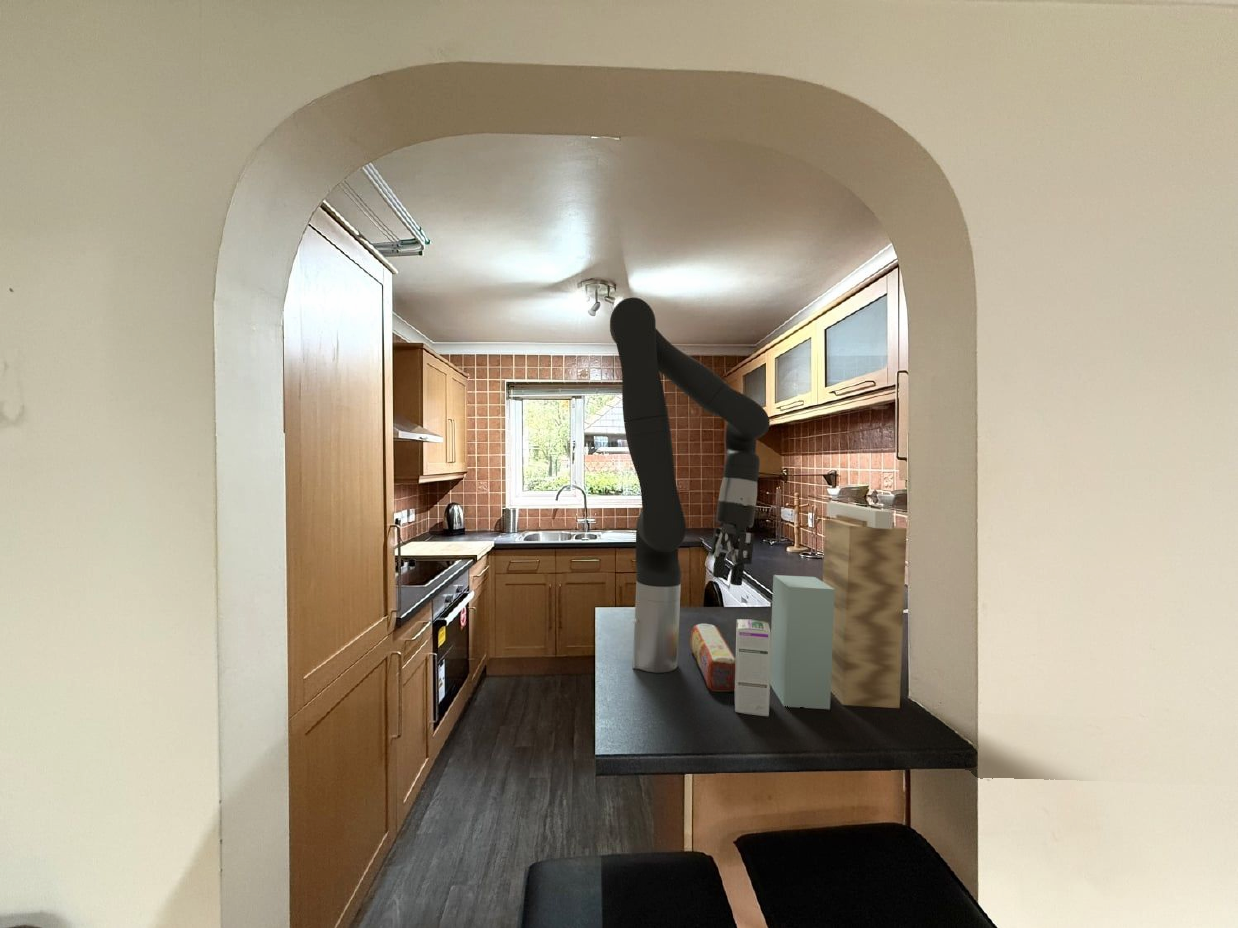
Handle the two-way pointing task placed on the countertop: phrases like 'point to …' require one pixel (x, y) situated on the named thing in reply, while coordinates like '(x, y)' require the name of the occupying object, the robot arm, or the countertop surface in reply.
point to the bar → (862, 514)
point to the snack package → (713, 657)
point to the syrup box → (752, 667)
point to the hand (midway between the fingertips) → (726, 581)
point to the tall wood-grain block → (866, 610)
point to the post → (801, 641)
